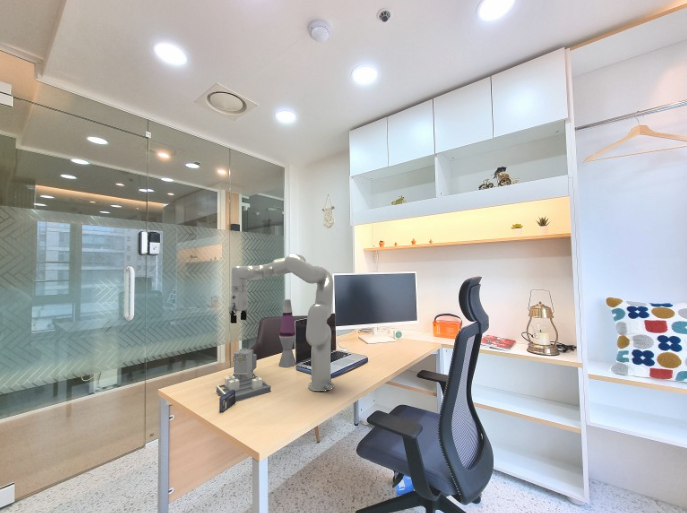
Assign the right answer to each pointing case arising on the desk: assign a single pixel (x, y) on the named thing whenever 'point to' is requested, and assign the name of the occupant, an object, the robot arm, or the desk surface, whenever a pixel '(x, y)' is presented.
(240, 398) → the switch bank
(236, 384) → the tab
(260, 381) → the tab
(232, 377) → the tab
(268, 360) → the desk surface
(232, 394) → the mini dv tape
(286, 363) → the lamp
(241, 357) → the circuit breaker
